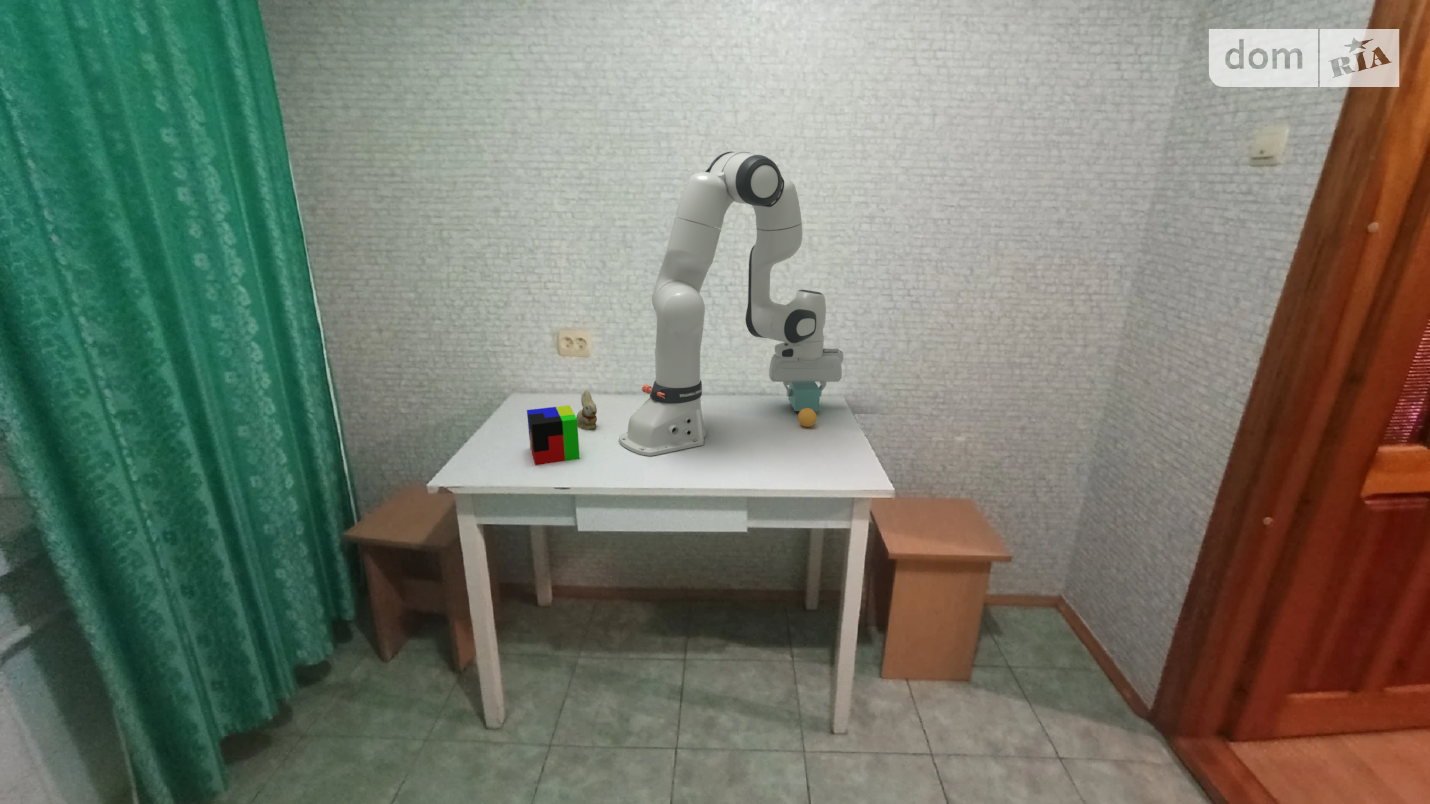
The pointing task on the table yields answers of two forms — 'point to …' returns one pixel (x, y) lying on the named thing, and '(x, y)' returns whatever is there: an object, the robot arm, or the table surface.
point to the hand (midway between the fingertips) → (803, 395)
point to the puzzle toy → (553, 434)
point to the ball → (807, 417)
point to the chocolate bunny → (587, 412)
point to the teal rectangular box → (804, 395)
